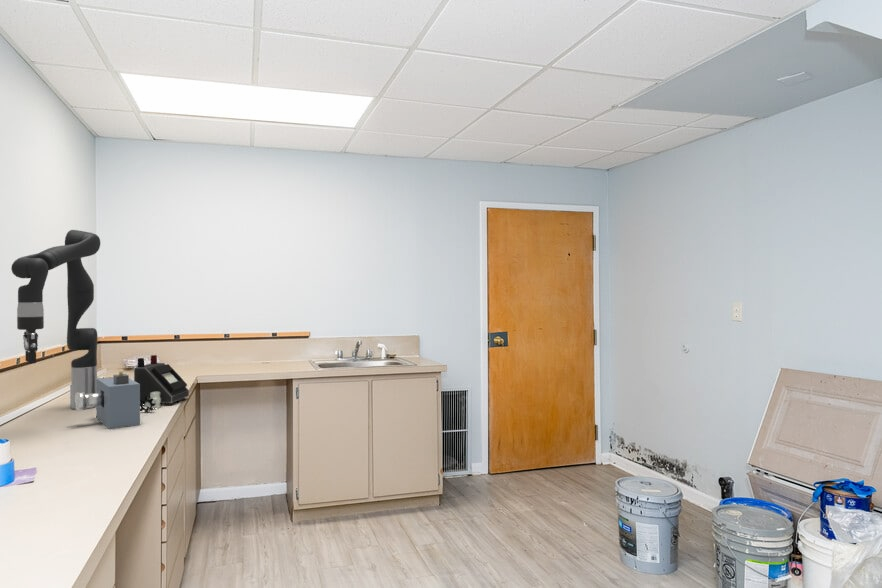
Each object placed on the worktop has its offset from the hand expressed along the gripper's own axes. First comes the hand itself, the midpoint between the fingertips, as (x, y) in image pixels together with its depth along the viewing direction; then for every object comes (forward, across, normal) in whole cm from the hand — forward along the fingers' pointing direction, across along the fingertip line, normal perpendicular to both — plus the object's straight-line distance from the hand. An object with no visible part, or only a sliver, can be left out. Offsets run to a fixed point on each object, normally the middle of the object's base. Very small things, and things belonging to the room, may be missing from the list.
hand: (30, 362), depth 202 cm
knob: (+19, 0, -18) cm, 26 cm away
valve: (+24, +14, -42) cm, 51 cm away
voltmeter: (+24, +28, -50) cm, 62 cm away
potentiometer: (+9, -6, -27) cm, 29 cm away
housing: (+24, 0, -27) cm, 36 cm away
